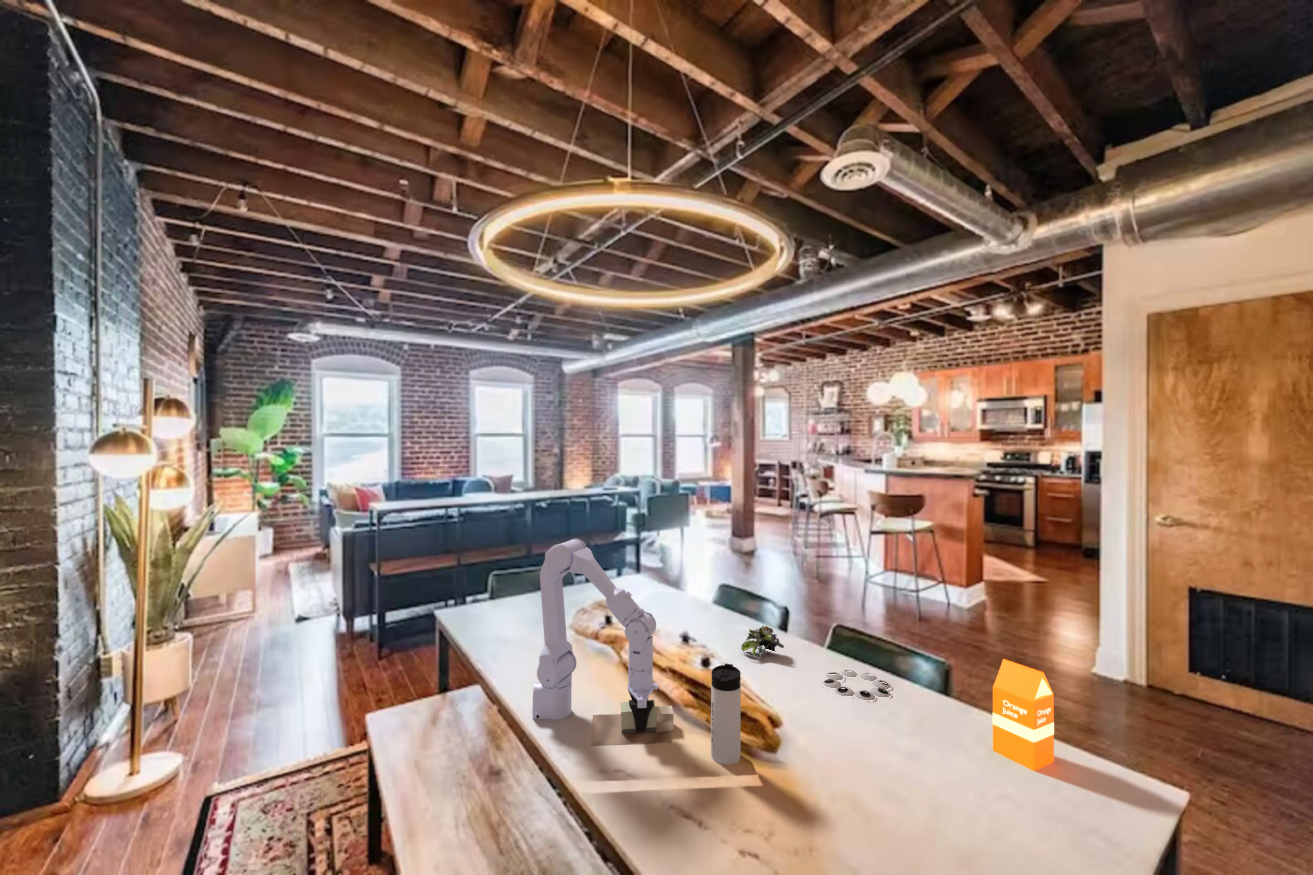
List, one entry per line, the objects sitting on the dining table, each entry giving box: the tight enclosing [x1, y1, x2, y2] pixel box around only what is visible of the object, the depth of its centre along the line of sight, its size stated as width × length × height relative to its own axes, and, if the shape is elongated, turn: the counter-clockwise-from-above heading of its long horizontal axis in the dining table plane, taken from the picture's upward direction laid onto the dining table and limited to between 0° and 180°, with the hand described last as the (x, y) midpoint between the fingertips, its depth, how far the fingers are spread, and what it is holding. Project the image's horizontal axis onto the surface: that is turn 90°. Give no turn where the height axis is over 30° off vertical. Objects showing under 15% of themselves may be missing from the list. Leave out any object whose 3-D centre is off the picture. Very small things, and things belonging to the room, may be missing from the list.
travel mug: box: [710, 663, 742, 766], centre depth 119 cm, size 6×7×20 cm
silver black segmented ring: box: [822, 669, 892, 700], centre depth 158 cm, size 20×20×2 cm
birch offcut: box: [655, 705, 675, 732], centre depth 131 cm, size 4×4×4 cm
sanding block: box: [620, 699, 656, 734], centre depth 131 cm, size 8×5×5 cm, turn 94°
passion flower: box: [740, 625, 785, 657], centre depth 180 cm, size 11×11×12 cm
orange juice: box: [992, 658, 1055, 772], centre depth 123 cm, size 8×9×20 cm
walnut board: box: [590, 713, 672, 747], centre depth 131 cm, size 18×14×2 cm
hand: (640, 724), depth 131 cm, fingers closed on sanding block, 5 cm apart
